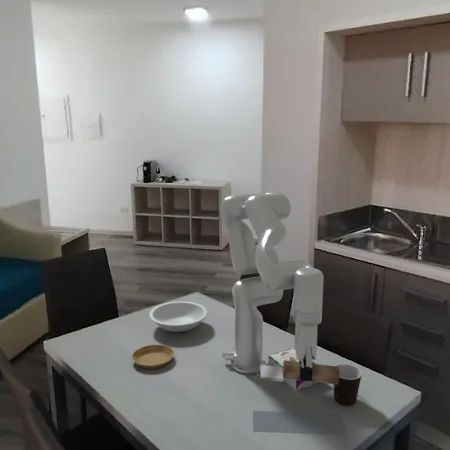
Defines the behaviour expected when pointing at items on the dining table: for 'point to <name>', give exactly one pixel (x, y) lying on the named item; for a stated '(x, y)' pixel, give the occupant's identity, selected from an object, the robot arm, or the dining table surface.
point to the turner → (293, 372)
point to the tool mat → (297, 422)
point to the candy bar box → (278, 361)
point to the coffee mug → (347, 385)
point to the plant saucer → (153, 356)
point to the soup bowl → (178, 315)
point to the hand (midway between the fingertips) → (305, 376)
